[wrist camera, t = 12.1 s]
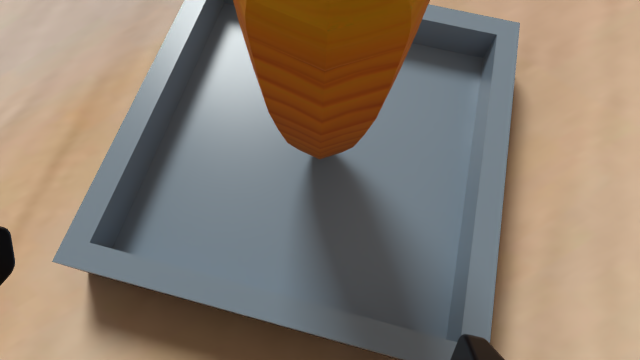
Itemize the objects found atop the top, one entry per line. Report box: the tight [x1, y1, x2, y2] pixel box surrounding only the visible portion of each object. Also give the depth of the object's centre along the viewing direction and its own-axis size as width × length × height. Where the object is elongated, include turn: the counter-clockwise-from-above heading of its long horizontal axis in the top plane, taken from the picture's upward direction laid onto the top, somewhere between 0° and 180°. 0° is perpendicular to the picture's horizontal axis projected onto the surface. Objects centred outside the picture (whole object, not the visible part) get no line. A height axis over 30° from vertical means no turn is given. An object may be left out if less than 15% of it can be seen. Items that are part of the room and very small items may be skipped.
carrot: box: [233, 0, 430, 159], centre depth 12 cm, size 5×5×15 cm
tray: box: [52, 0, 520, 360], centre depth 18 cm, size 16×16×2 cm
